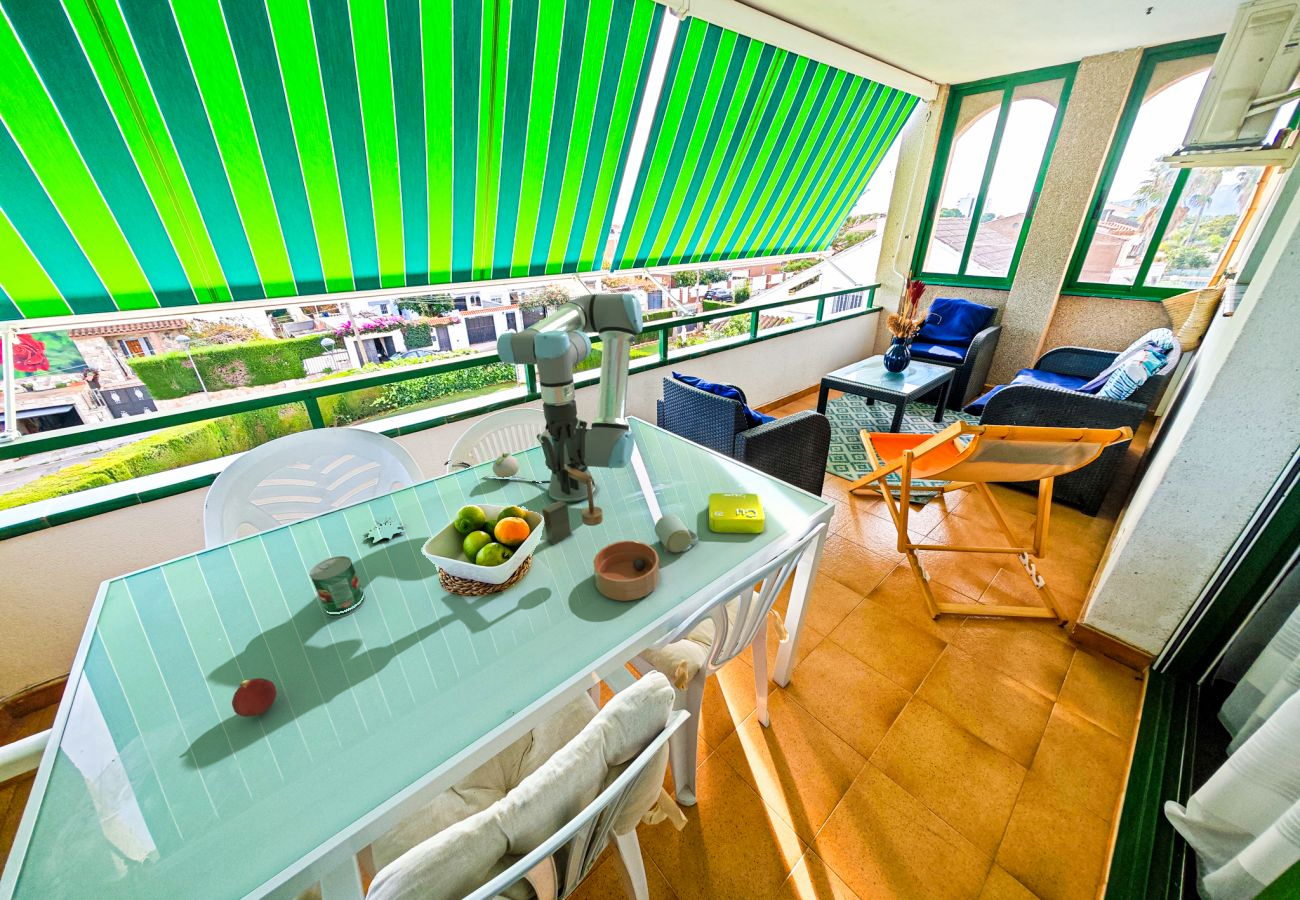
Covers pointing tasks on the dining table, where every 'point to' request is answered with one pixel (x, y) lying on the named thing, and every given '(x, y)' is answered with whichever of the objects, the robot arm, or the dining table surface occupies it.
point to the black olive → (639, 564)
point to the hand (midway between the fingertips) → (570, 490)
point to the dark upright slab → (556, 522)
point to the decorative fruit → (505, 465)
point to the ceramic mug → (674, 533)
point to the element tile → (735, 513)
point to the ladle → (590, 514)
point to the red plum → (254, 697)
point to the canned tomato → (337, 585)
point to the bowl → (626, 570)
